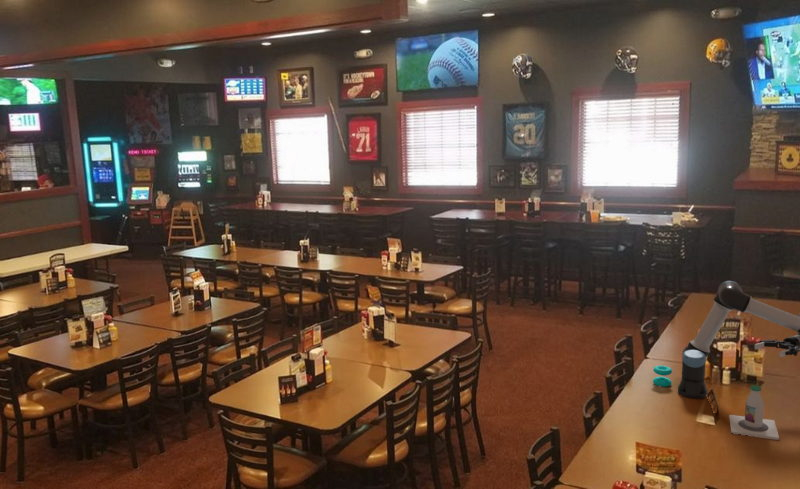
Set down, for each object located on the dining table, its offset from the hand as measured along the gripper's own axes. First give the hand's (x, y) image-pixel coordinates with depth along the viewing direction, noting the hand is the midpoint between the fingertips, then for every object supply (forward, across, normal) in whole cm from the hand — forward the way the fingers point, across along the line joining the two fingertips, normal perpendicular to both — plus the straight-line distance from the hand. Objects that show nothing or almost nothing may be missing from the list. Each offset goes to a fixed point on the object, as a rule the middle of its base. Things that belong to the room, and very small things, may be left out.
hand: (767, 350), depth 337 cm
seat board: (+24, -11, -32) cm, 41 cm away
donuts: (+17, +51, -32) cm, 62 cm away
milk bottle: (+24, -11, -31) cm, 40 cm away
